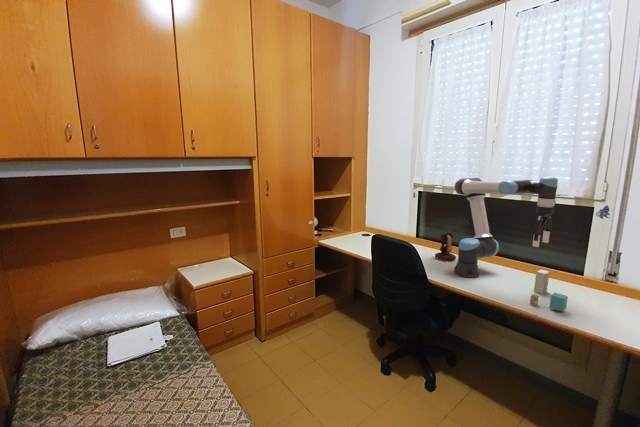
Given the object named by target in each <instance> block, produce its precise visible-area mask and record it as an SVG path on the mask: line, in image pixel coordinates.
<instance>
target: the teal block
mask: <svg viewBox="0 0 640 427" xmlns="http://www.w3.org/2000/svg"><path fill="white" fill-rule="evenodd" d="M568 298H569V297H568V295H565V294H561V293H557V292H554V293H552V294H551V295H550V302H549V308H551V309H552V310H553V309H556V310H559V311H558V312H564V311H565V310H566V309H567V304H568ZM556 310H555V311H556Z"/></svg>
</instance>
